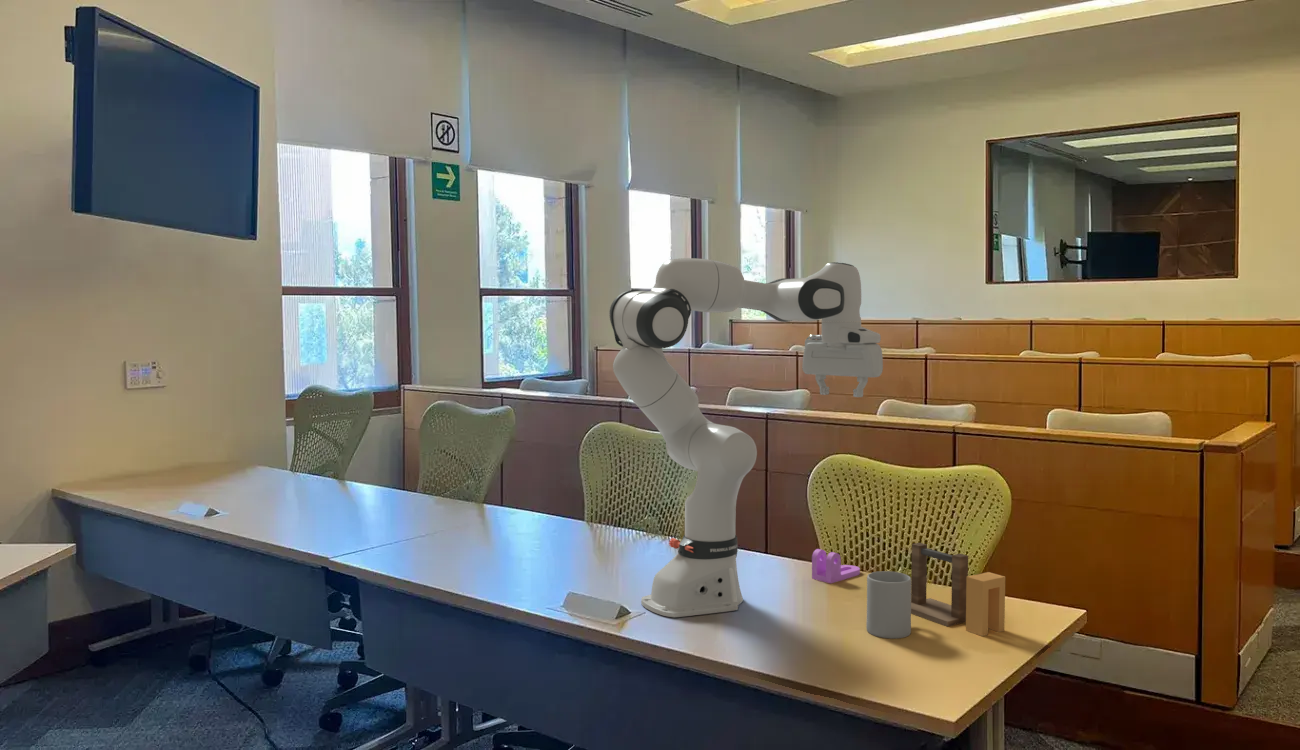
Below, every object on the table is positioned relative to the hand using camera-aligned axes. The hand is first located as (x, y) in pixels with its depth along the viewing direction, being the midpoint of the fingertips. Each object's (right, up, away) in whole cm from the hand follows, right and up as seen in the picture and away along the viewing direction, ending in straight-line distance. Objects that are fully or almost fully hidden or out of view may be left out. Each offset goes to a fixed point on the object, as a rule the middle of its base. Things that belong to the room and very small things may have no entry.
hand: (841, 395), depth 215 cm
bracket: (+2, -44, +11) cm, 45 cm away
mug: (+5, -46, -27) cm, 54 cm away
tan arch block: (+23, -46, -28) cm, 58 cm away
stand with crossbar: (+17, -45, -18) cm, 51 cm away
